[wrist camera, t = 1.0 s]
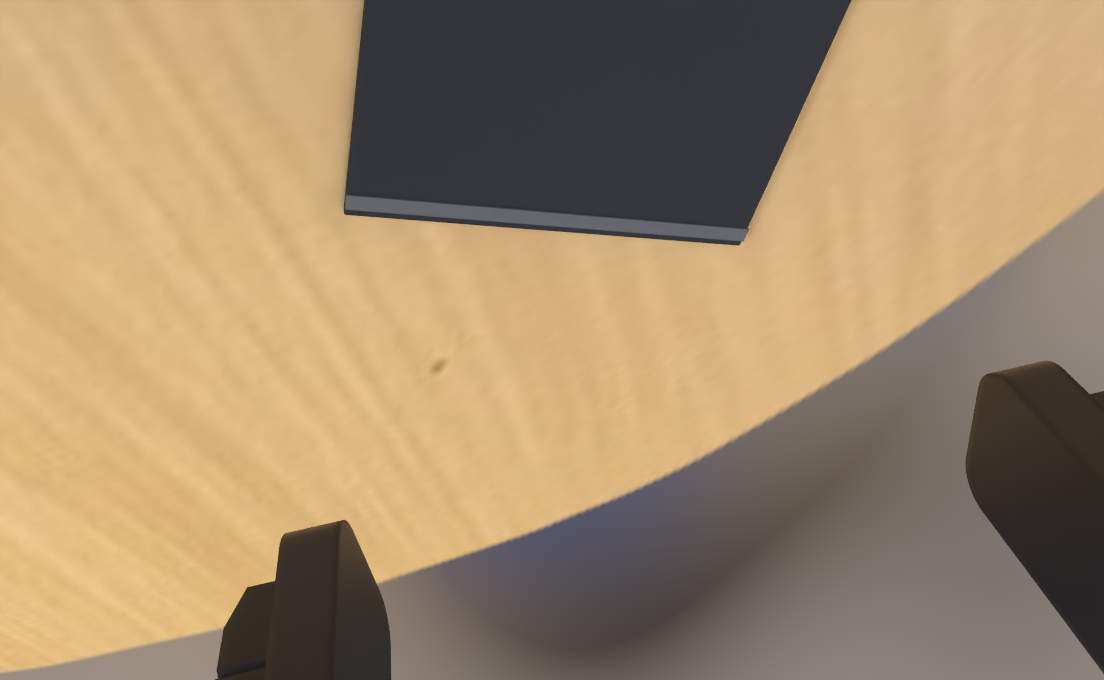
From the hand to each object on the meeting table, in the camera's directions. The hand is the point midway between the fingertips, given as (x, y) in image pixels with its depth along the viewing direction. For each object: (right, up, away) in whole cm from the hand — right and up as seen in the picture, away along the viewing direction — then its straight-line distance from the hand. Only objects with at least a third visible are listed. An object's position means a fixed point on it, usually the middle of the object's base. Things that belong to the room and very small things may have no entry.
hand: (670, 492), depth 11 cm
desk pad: (0, +12, +19) cm, 22 cm away
